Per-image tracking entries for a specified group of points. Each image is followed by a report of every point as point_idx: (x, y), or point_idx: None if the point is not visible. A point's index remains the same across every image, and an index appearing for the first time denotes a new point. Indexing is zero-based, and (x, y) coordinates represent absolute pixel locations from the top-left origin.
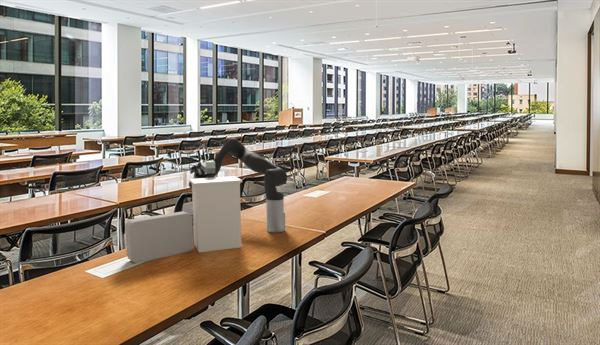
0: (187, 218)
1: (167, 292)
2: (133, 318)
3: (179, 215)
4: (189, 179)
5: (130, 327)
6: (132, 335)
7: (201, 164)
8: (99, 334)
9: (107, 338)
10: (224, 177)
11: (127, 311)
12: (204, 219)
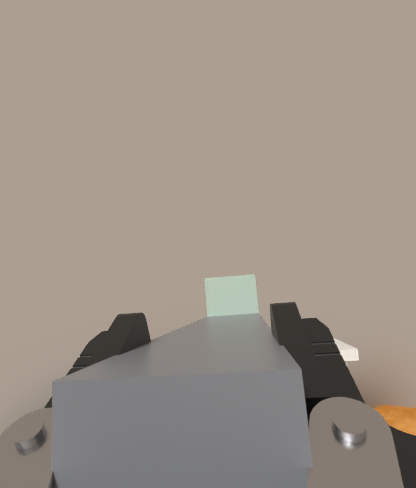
0: None
1: None
2: (391, 420)
3: None
4: (356, 350)
5: (385, 412)
6: (377, 406)
7: (269, 328)
8: (413, 410)
9: (400, 407)
10: None
11: (407, 428)
12: None
